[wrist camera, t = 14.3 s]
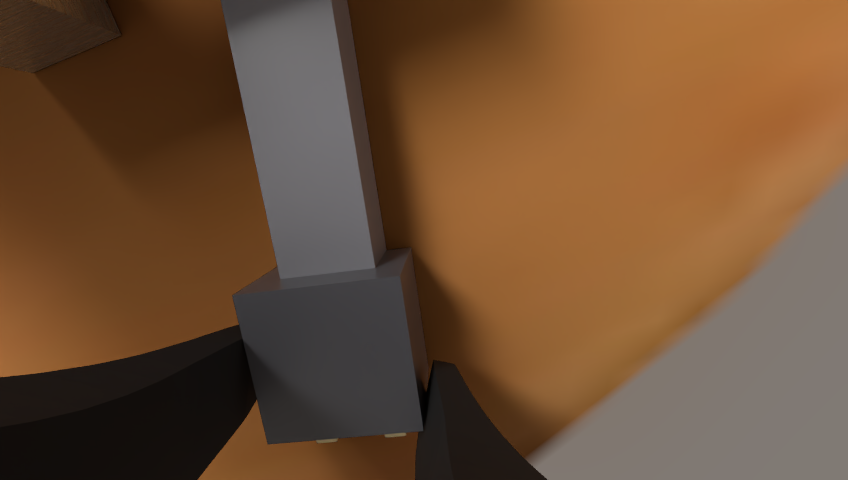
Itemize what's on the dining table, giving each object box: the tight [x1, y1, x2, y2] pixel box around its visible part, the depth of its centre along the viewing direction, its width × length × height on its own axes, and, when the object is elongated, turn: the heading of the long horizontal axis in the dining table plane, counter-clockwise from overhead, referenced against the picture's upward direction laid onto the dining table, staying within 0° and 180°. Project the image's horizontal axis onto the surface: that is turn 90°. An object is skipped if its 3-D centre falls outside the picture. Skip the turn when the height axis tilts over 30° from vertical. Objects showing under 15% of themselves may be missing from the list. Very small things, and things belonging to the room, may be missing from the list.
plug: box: [221, 0, 429, 444], centre depth 10 cm, size 12×4×3 cm, turn 8°
